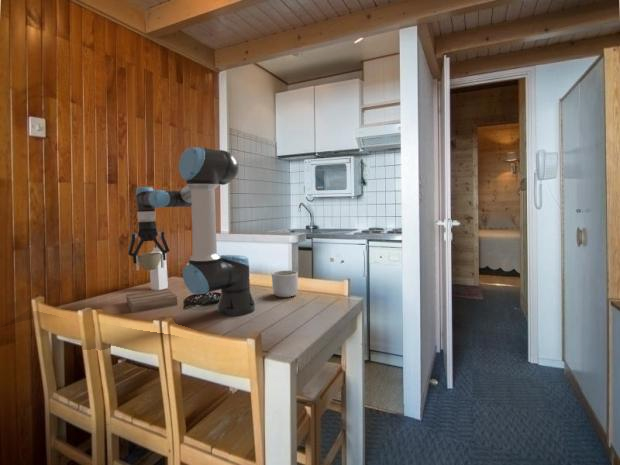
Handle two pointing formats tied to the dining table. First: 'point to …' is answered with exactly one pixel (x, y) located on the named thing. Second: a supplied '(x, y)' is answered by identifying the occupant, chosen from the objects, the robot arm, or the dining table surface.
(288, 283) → the planter
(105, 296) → the dining table surface
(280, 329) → the dining table surface
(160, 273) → the milk
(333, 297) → the dining table surface
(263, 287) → the dining table surface
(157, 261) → the olive green bowl
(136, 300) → the stand
